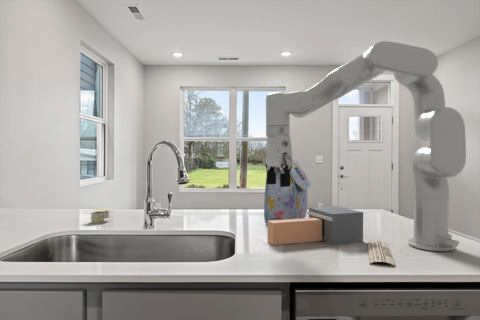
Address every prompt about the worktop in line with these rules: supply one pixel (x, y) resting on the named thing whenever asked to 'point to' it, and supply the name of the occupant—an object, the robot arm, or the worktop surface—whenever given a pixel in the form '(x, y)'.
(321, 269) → the worktop surface
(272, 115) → the robot arm
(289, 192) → the lunch bag
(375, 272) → the worktop surface
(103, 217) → the pale yellow grooved block
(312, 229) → the orange rectangular block
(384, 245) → the newspaper
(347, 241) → the grey box
